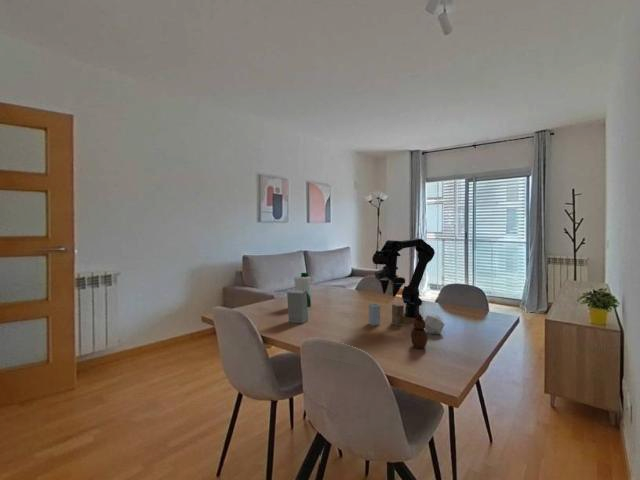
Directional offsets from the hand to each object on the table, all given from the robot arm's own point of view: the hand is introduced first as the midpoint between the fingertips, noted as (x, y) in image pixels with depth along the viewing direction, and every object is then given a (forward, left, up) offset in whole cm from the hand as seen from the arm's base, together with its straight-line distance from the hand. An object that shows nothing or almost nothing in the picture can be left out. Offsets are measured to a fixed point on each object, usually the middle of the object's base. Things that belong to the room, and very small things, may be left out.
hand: (389, 295), depth 175 cm
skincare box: (+44, -15, -13) cm, 49 cm away
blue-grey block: (+10, +3, -13) cm, 17 cm away
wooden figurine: (+9, +37, -13) cm, 41 cm away
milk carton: (+32, -44, -13) cm, 56 cm away
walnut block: (-1, +7, -13) cm, 15 cm away
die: (-8, +25, -13) cm, 30 cm away
